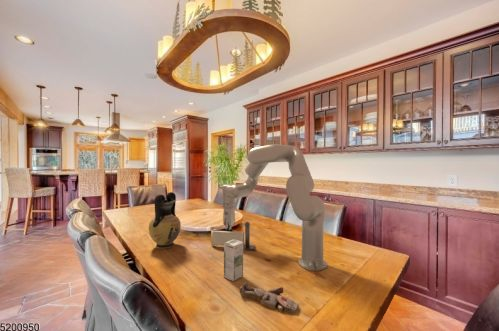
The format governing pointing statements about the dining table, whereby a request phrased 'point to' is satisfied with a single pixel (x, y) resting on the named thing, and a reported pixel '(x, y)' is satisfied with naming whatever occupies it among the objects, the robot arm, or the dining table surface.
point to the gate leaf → (226, 237)
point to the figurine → (270, 298)
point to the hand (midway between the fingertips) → (229, 235)
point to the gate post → (248, 238)
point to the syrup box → (233, 259)
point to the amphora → (164, 221)
